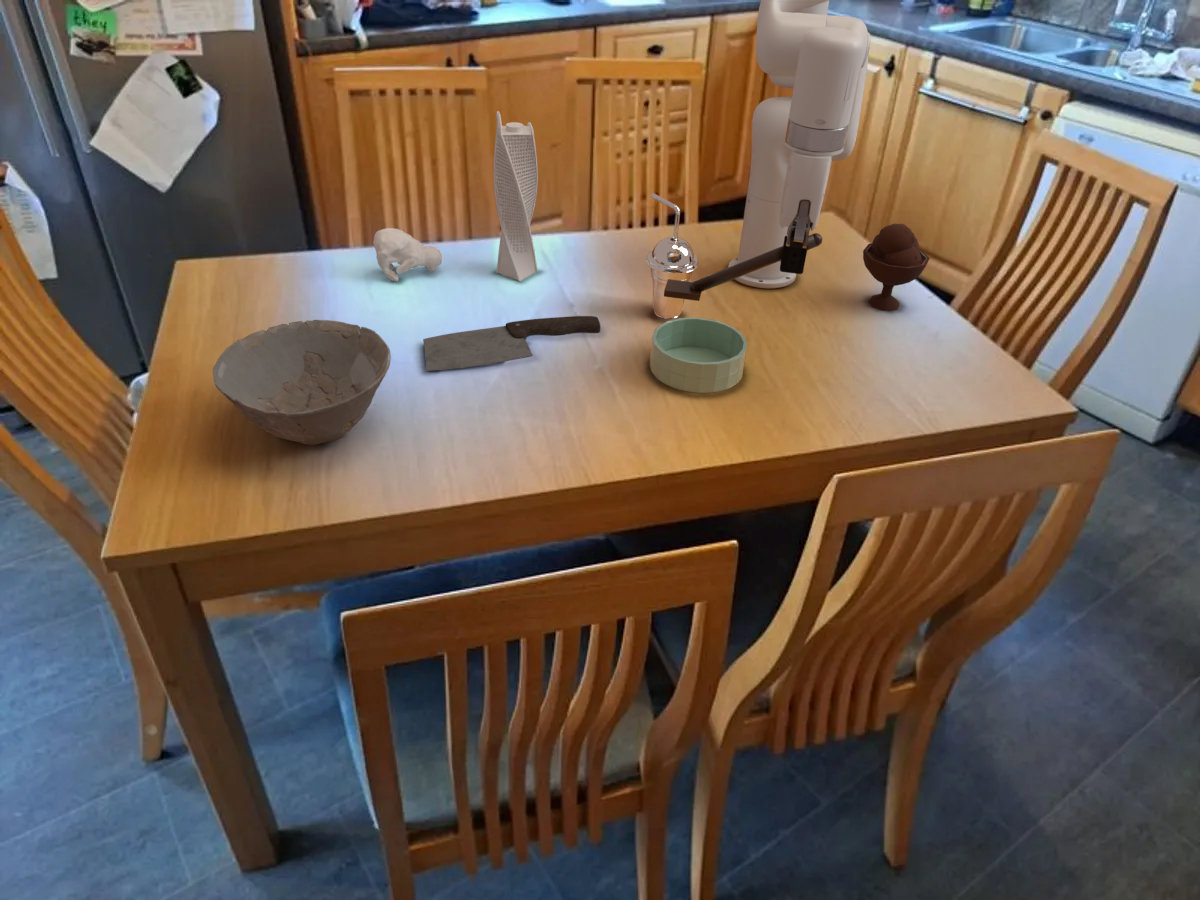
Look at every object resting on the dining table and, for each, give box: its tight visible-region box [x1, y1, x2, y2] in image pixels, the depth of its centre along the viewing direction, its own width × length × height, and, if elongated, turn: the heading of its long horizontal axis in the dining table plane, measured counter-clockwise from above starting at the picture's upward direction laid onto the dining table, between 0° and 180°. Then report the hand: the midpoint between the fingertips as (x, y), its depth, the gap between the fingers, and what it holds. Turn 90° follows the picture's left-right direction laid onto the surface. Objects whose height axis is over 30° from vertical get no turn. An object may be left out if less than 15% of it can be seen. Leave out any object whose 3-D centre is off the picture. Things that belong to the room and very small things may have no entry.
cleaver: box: [422, 315, 601, 372], centre depth 140 cm, size 30×10×2 cm, turn 110°
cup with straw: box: [645, 192, 699, 320], centre depth 145 cm, size 8×9×20 cm
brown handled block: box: [664, 232, 823, 302], centre depth 125 cm, size 21×4×11 cm, turn 79°
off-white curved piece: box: [372, 227, 443, 283], centre depth 157 cm, size 6×8×12 cm
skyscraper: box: [493, 110, 539, 282], centre depth 154 cm, size 8×8×28 cm
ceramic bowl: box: [212, 319, 392, 446], centre depth 118 cm, size 22×23×10 cm
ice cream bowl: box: [862, 223, 930, 312], centre depth 153 cm, size 11×11×15 cm
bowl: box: [649, 316, 748, 394], centre depth 135 cm, size 14×14×6 cm
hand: (791, 267), depth 124 cm, fingers closed on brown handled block
